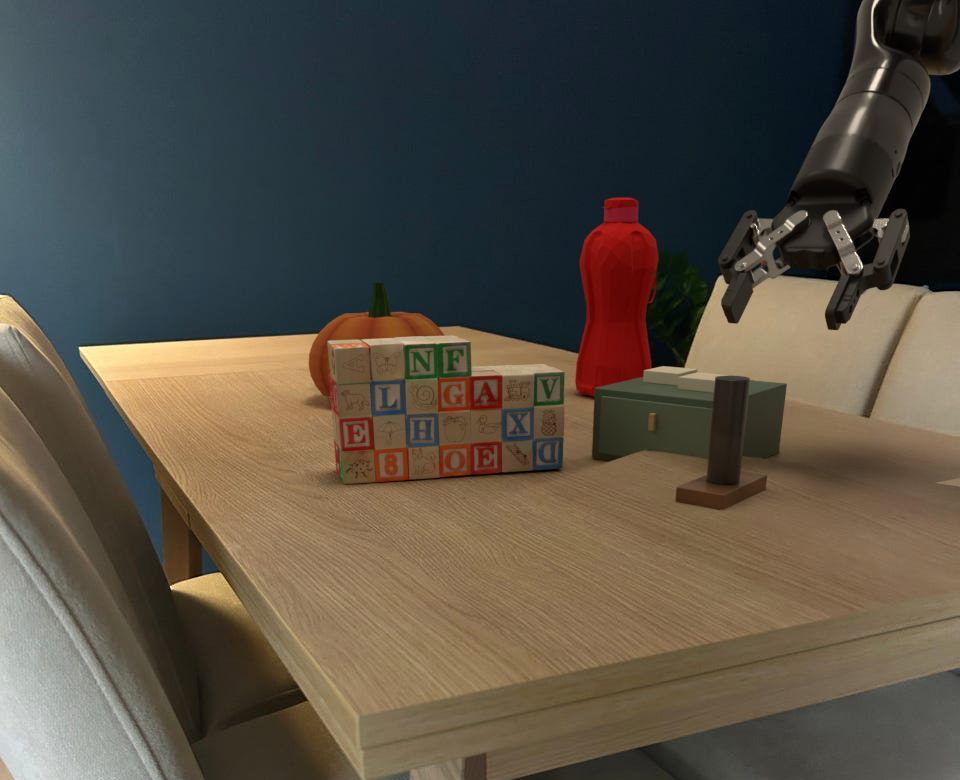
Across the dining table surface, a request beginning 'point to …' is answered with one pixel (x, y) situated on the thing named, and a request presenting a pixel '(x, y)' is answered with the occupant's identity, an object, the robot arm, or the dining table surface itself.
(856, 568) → the dining table surface
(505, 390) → the stack of blocks
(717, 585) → the dining table surface
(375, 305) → the pumpkin
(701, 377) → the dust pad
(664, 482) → the dining table surface
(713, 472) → the brush
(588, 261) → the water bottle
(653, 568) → the dining table surface
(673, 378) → the block
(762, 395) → the cabinet
